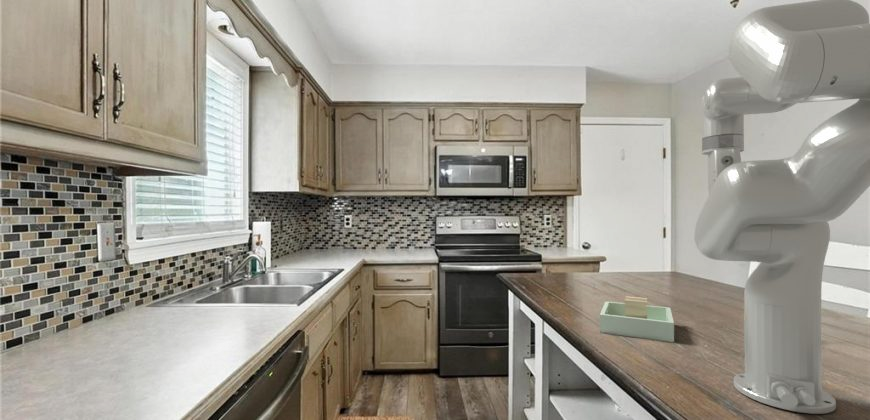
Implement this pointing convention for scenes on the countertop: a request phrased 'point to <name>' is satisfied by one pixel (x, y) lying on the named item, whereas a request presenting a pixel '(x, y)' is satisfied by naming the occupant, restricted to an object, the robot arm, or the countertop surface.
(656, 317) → the bin
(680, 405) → the countertop surface
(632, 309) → the beech block
